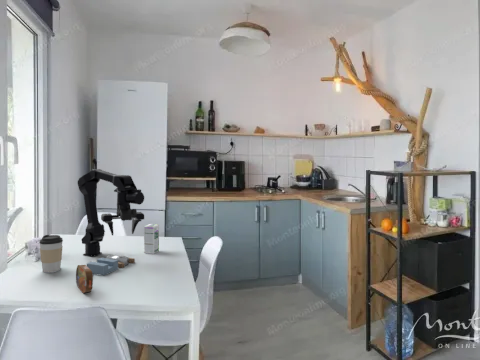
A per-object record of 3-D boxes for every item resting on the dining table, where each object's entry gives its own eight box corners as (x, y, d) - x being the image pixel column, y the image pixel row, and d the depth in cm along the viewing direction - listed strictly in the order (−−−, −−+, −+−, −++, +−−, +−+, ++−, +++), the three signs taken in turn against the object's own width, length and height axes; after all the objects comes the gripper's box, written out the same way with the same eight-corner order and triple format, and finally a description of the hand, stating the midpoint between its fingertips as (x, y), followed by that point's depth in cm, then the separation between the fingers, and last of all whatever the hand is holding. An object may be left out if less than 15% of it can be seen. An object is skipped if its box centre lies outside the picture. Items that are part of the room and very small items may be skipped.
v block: (86, 272, 147) (86, 263, 146) (101, 266, 155) (101, 257, 155) (103, 275, 144) (103, 266, 143) (118, 269, 152) (118, 260, 152)
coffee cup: (68, 268, 152) (67, 234, 151) (50, 274, 143) (50, 239, 142) (52, 265, 155) (52, 232, 154) (34, 271, 146) (33, 237, 145)
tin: (75, 283, 134) (75, 262, 134) (83, 281, 136) (83, 261, 136) (85, 296, 123) (85, 273, 122) (94, 294, 124) (94, 271, 124)
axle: (106, 264, 159) (105, 256, 159) (112, 260, 163) (111, 253, 162) (123, 267, 156) (123, 259, 155) (129, 263, 160) (128, 255, 159)
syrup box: (154, 254, 176) (154, 226, 175) (143, 253, 177) (143, 225, 176) (159, 251, 182) (159, 224, 181) (148, 250, 183) (148, 223, 182)
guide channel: (98, 264, 158) (98, 260, 157) (112, 259, 166) (112, 255, 166) (122, 268, 153) (122, 263, 153) (134, 262, 162) (134, 258, 162)
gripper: (106, 205, 149) (105, 240, 151) (148, 204, 159) (147, 236, 161) (101, 201, 159) (100, 234, 160) (141, 200, 169) (140, 231, 170)
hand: (122, 234), depth 162 cm, fingers open, 9 cm apart
